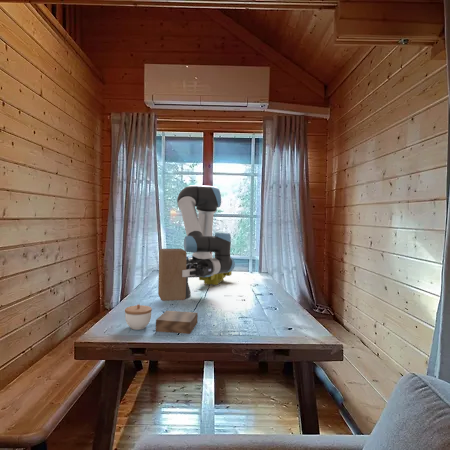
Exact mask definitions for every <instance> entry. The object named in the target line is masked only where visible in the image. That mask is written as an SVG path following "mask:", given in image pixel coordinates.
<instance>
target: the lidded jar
mask: <svg viewBox="0 0 450 450" xmlns="http://www.w3.org/2000/svg"><path fill="white" fill-rule="evenodd" d="M152 310H153V309H152V306H149V305H143V304H140V303H137V305H131V306H127V307H126V308H124V317H125V322H126V324H127V325H128V326H129V328H130V329H131V330H133V331H134V330H138V331H139V330H143V329H146V327H147V326H148V325H149V324H150V322H151V319H152Z"/></svg>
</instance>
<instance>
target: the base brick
mask: <svg viewBox="0 0 450 450" xmlns="http://www.w3.org/2000/svg"><path fill="white" fill-rule="evenodd" d="M198 318H199V315H198V312H195V311H194V312H193V311H192V312H191V311H178V310H166V311H164V312H163V313H162V314H161V315H160V316H158V317H157V318H156V319H155V332H158V333H159V332H160V333H171V334H172V333H173V334H187V335H190V334H191V333H193V330H194V329H195V327H196V325H198V320H199V319H198Z"/></svg>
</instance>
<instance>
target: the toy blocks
mask: <svg viewBox="0 0 450 450" xmlns="http://www.w3.org/2000/svg"><path fill="white" fill-rule="evenodd" d="M232 271H233V270H232ZM232 271H230V272H227V273H220V274H213V276H210V277H198V280H199V281H203V284H204V285H211V284H212V286H213V285H214V286H217V285H219V284H220V283H221V282H223V281H224V278H226V277H228V276H229V277H231V276H232V274H233V273H232ZM218 283H219V284H218Z"/></svg>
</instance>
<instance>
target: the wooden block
mask: <svg viewBox="0 0 450 450" xmlns="http://www.w3.org/2000/svg"><path fill="white" fill-rule="evenodd" d="M187 253H188V252H186V251H185V250H184V249H183V248H160V249H159V250H158V291H157V292H158V293H157V294H158V297H159V298H160V300H161V301H162V302H167V301H168V302H169V301H184V300H185V299H187V298H186V277H182V270H186V259H187V255H188V254H187Z"/></svg>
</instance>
